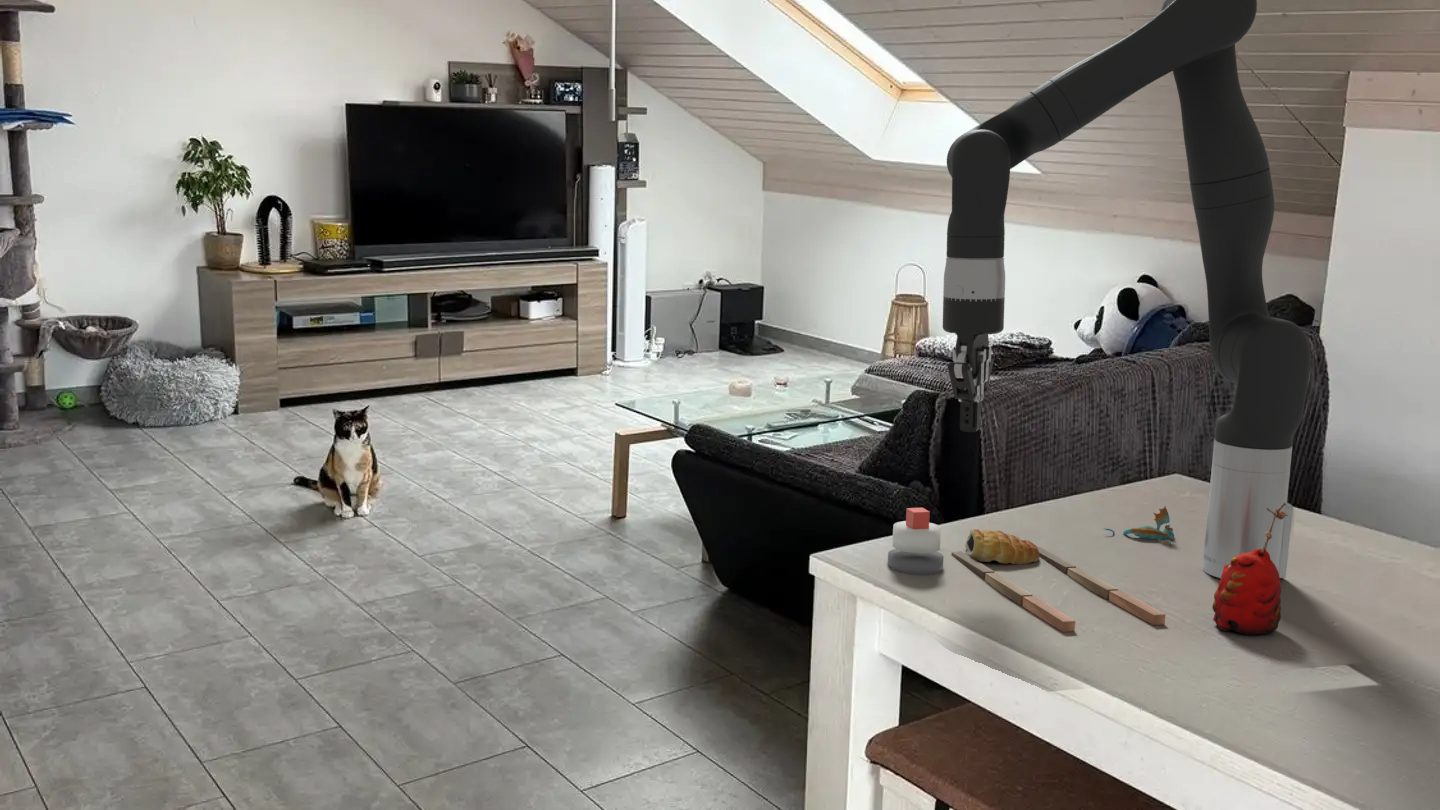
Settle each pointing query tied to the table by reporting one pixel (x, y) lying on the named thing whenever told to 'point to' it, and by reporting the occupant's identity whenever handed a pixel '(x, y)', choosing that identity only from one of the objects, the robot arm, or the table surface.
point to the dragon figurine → (1154, 529)
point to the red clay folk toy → (1250, 591)
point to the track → (1050, 612)
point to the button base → (915, 562)
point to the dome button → (916, 533)
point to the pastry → (1000, 547)
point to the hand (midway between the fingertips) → (969, 430)
